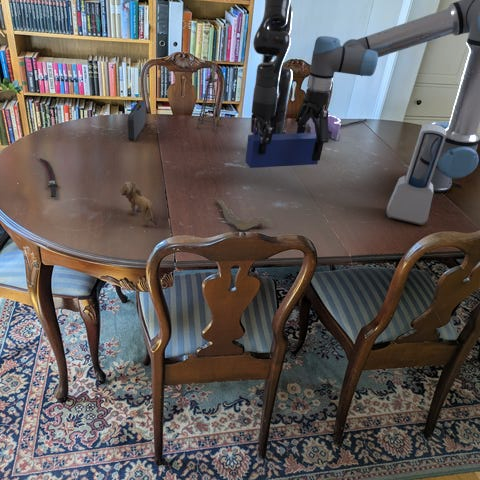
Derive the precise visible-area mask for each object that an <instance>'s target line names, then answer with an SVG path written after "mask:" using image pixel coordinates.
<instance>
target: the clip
mask: <svg viewBox="0 0 480 480" xmlns="http://www.w3.org/2000/svg"><path fill="white" fill-rule="evenodd" d="M324 111H326V110H325V109H324ZM341 122H342V120H341V118H339V117H337V116H335V115H332V114H330V113H329V114H328V133H329V132H330V133H331V136H330V138H331V139H333V140H335V141H338V139H339V135H340V130H341V127H342V126H341V125H342V124H341ZM340 126H341V127H340ZM308 127H309V128H310V131H309V133H316V132H315V125H314V122H313V121H312V119H311V118H310V119H309V121H308Z"/></svg>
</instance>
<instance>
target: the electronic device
mask: <svg viewBox="0 0 480 480" xmlns="http://www.w3.org/2000/svg"><path fill="white" fill-rule="evenodd" d="M428 134H434V135H437V136H439V137H438V140H437V143H436V146H435V149H434V152H433V155H432V158H431V161H430V164H429V167H428V170H427V173H426V176H425V179H418V178H415V177H412V175H413V172H414V169H415V166H416V165H417V163H418V161H419V160H418V159H419V158H420V157H419V156H420V155H421V152H422V147H423V144H424V141H425V139H426V136H427V135H428ZM445 139H446V129H445V128H443V127H442V126H439V125H436V124H433V123H424V124H422V125H421V127H420V132H419V134H418V138H417V141H416V144H415V147H414V150H413V152H412V156H411V160H410V163H409V165H408V170H407V171H406V172H407V173H406V175H403V176H400V177H399V178H398V180H397V182H396V184H395V187H394V190H393V192H392V194H391V196H390V198H389V201H388V204H387V205H386V206H387V207H386V215H387V217H388V218H389V219H393V220H398V221H400V222H401V221H402V222H406V223H410V224H414V225H419V226H423V225H424V224H425V225H426V224H427V222H428V219H429V215H430V212H431V211H430V210H431V206H432V201H433V197H434V192H433V184H432V183H431V179H432V176H433V173H434V170H435V168H436V165H437V162H438V159H439V156H440V153H441V150H442V147H443V144H444V142H445Z"/></svg>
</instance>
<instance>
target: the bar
mask: <svg viewBox="0 0 480 480" xmlns="http://www.w3.org/2000/svg"><path fill="white" fill-rule="evenodd" d="M262 139H263V137H262ZM316 140H317V138H316V133H310V132H305V133H297V132H295V133H285V134H273V135H272V139H271V143H270V144H267V146H266V154H265V155H260V154H259V145H260V137H259V136H258V135H253V134H248V135H247V144H246V153H245V163H246V165H247V166H248V168H249V169H259V168H278V167H279V168H280V167H294V166H311V165H314V166H315V165H318V163H319V161H312V155H313V150H314V145H315V141H316Z"/></svg>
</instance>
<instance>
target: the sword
mask: <svg viewBox="0 0 480 480" xmlns="http://www.w3.org/2000/svg"><path fill="white" fill-rule="evenodd" d="M40 161H41V162H42V163H43V165H44V166H45V169H46V173H47V176H48V185H47V188H50V198H56V197H57V189H56V188H57V187H59V185H58V184H57V183H56V180H55V176H54V172H53V169H52V167H51V164H50V163H49V161H48V160H46V159H43V158H40Z"/></svg>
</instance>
